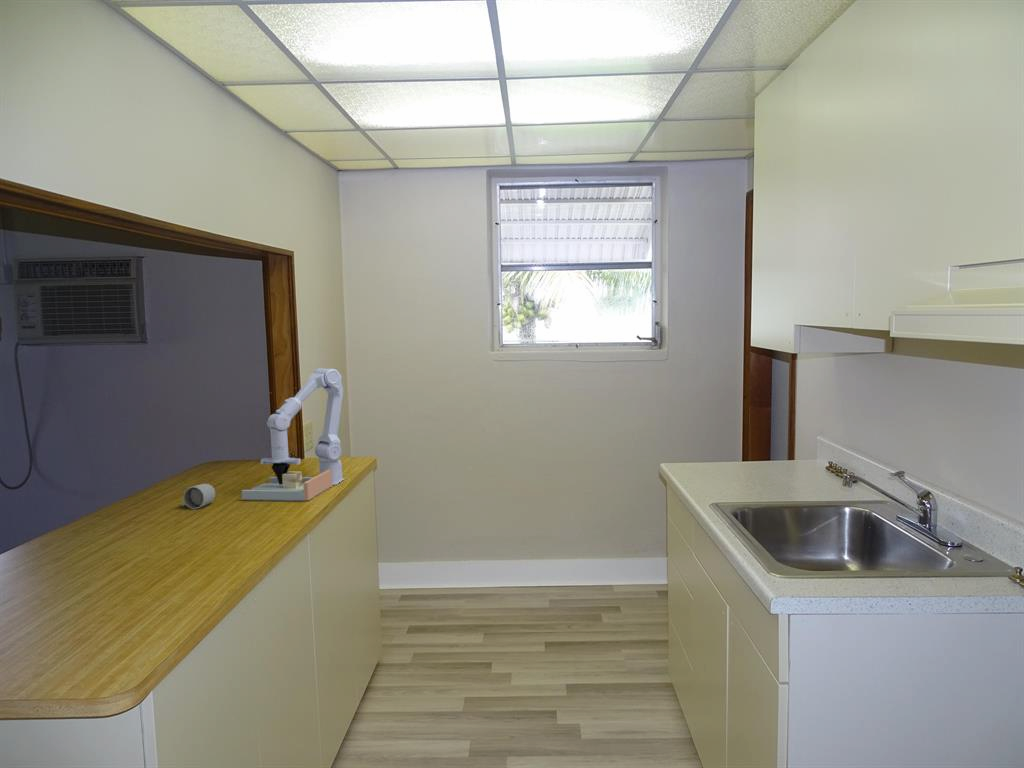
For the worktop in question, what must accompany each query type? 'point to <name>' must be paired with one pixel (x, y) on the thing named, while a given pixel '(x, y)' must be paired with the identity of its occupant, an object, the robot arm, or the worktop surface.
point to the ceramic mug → (198, 496)
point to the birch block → (292, 479)
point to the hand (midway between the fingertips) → (281, 483)
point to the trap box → (290, 489)
